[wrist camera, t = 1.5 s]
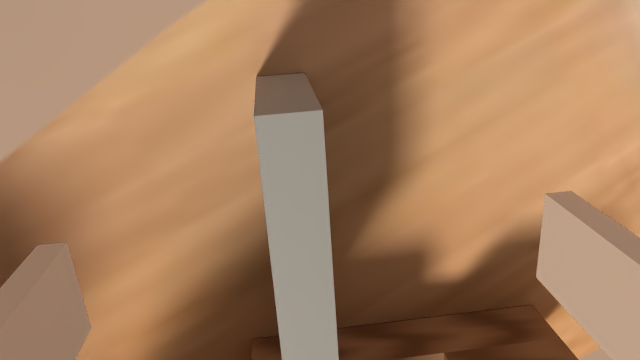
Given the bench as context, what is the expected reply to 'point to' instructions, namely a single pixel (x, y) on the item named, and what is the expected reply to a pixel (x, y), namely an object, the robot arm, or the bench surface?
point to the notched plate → (297, 214)
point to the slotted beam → (445, 339)
